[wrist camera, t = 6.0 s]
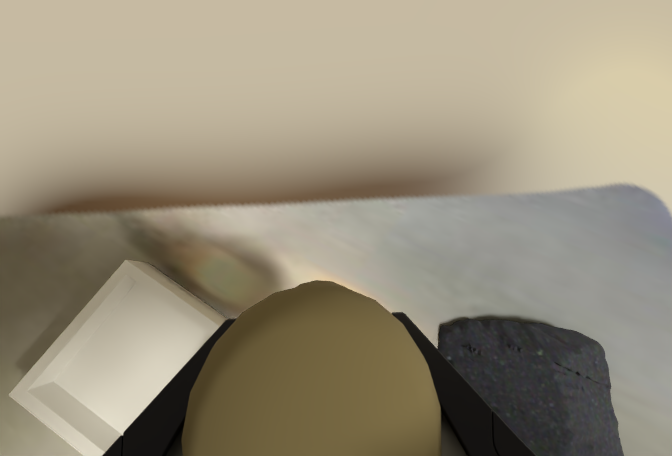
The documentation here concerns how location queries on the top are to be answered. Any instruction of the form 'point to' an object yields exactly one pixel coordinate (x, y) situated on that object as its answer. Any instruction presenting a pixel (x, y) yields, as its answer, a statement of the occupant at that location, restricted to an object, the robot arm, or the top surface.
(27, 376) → the tray
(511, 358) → the dark slate chunk
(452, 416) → the robot arm
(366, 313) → the olive brown pawn
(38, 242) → the top surface
